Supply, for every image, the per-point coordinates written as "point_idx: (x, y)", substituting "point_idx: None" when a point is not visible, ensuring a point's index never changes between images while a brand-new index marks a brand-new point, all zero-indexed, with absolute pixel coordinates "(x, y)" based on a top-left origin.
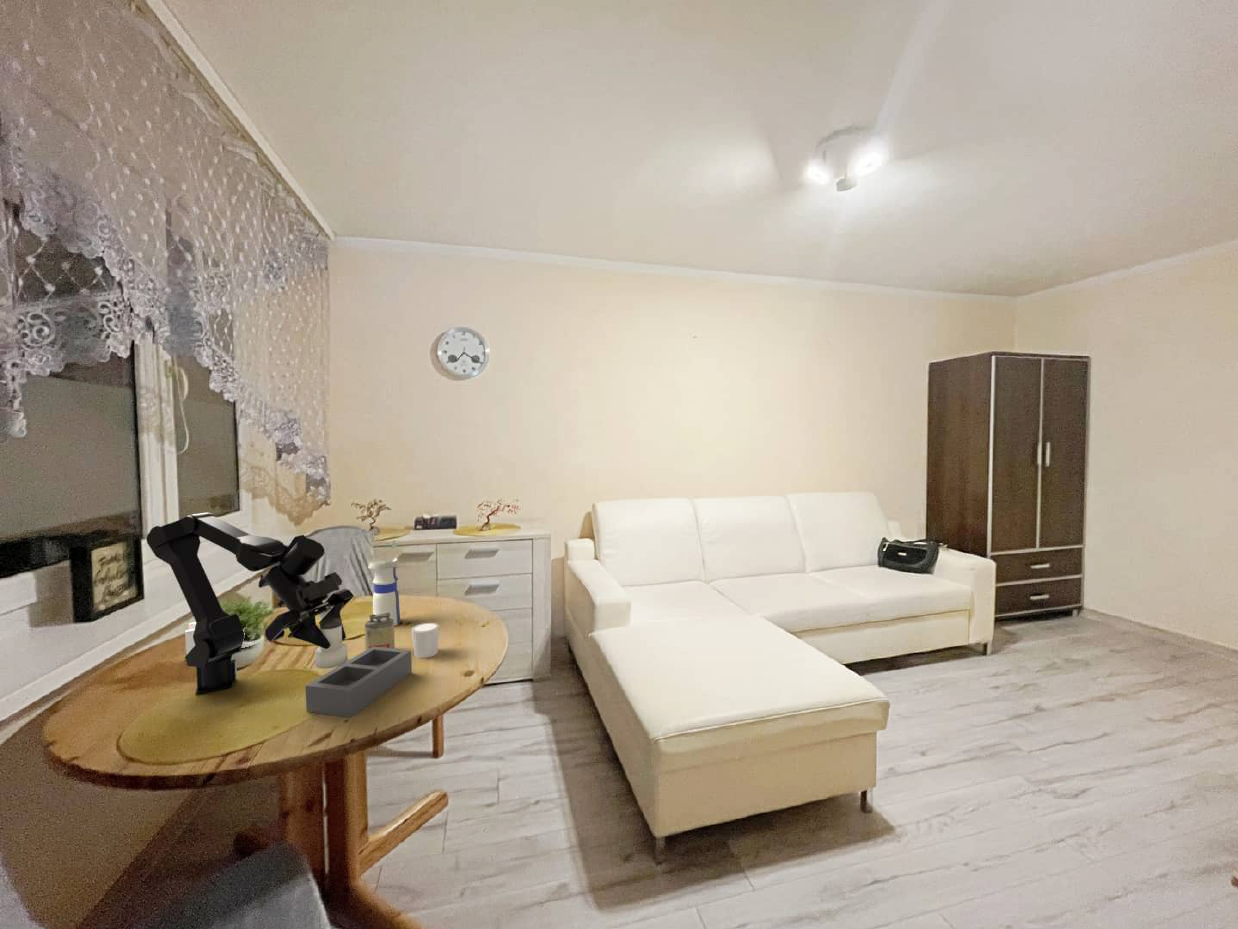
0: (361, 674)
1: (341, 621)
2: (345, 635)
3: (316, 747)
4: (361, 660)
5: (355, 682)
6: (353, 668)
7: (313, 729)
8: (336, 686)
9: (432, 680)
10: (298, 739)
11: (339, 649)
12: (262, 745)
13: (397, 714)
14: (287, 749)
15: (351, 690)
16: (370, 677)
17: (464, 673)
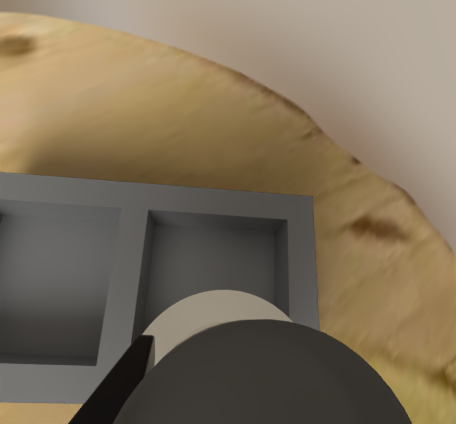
0: (143, 278)
1: (197, 335)
2: (135, 342)
3: (405, 217)
4: (23, 361)
5: (256, 215)
6: (134, 318)
7: (354, 282)
8: (297, 264)
9: (61, 120)
10: (398, 286)
11: (227, 319)
12: (449, 363)
13: (245, 122)
14: (435, 280)
15: (302, 197)
16: (209, 188)
17: (15, 57)
